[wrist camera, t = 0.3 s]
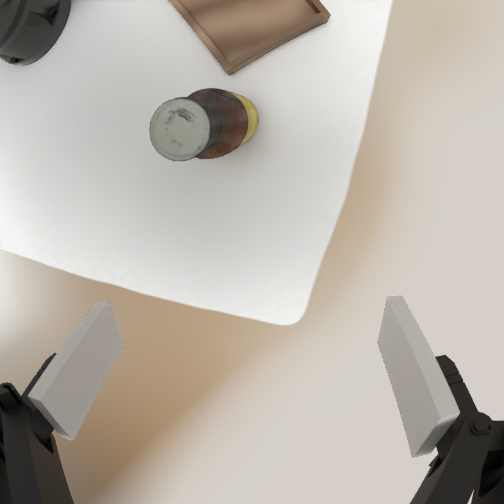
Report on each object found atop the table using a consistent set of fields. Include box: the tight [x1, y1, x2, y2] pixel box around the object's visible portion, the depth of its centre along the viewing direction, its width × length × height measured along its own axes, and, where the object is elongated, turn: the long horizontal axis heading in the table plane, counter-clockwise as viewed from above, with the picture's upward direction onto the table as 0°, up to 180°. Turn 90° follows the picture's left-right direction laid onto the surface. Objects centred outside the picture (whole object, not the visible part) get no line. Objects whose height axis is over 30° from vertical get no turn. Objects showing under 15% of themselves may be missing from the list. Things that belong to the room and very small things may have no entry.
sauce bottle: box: [150, 88, 258, 161], centre depth 26 cm, size 7×6×20 cm
